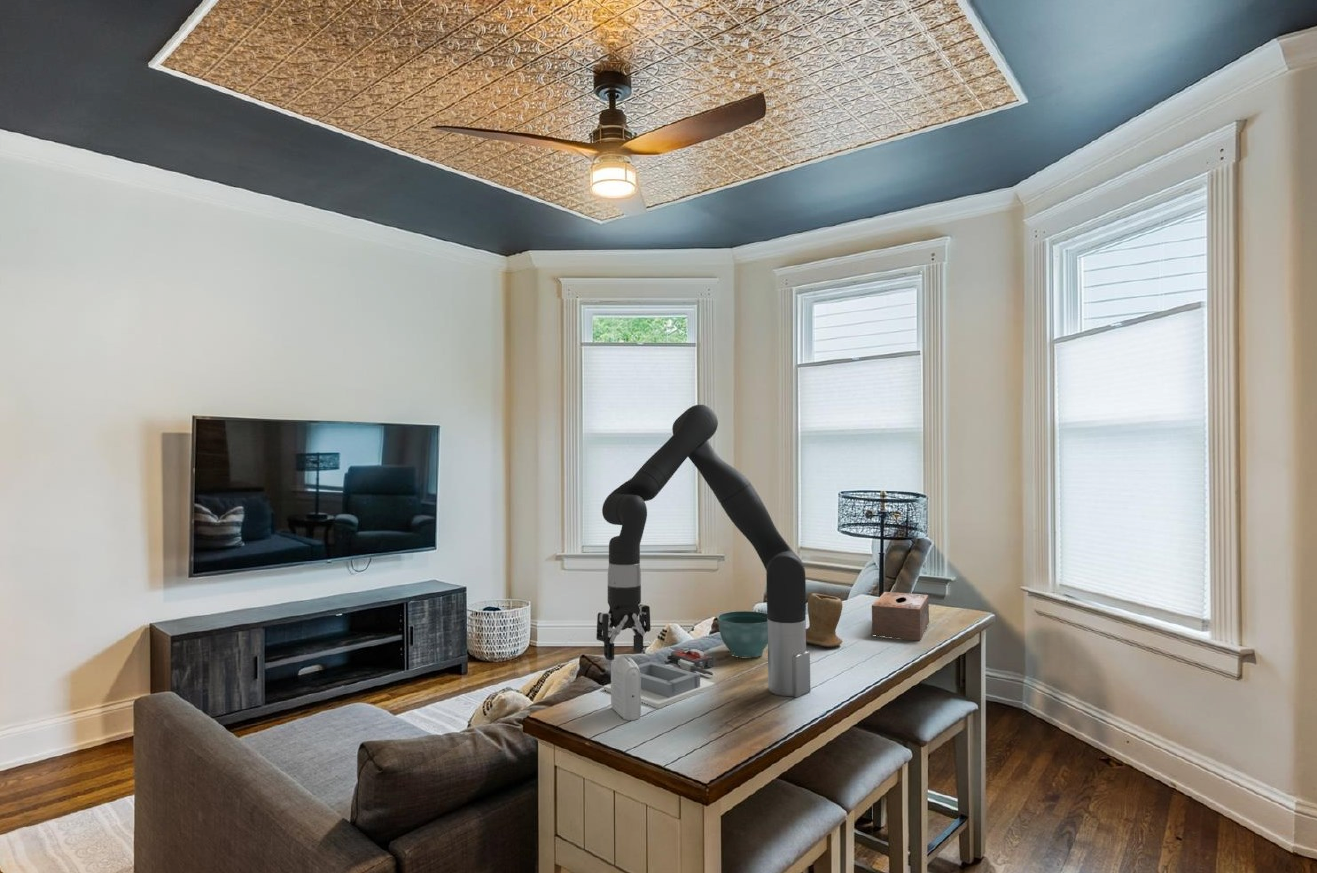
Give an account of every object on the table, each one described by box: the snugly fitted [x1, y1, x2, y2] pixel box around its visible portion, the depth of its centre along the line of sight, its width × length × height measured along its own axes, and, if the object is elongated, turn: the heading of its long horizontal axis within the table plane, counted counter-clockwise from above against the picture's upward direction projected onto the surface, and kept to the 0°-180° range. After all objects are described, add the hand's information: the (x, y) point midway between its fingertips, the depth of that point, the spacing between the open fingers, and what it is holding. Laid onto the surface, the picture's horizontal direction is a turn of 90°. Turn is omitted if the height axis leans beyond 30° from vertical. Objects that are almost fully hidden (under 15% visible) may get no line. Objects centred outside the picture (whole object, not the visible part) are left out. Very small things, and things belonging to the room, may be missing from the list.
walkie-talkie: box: [667, 647, 714, 676], centre depth 190 cm, size 9×4×20 cm
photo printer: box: [610, 654, 642, 721], centre depth 155 cm, size 10×4×12 cm, turn 24°
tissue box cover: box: [871, 591, 930, 641], centre depth 229 cm, size 26×14×10 cm, turn 153°
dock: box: [602, 660, 716, 709], centre depth 172 cm, size 19×20×4 cm
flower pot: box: [716, 610, 768, 659], centre depth 202 cm, size 16×16×11 cm
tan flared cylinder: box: [806, 592, 843, 647], centre depth 213 cm, size 15×12×15 cm
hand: (624, 655), depth 156 cm, fingers open, 8 cm apart
